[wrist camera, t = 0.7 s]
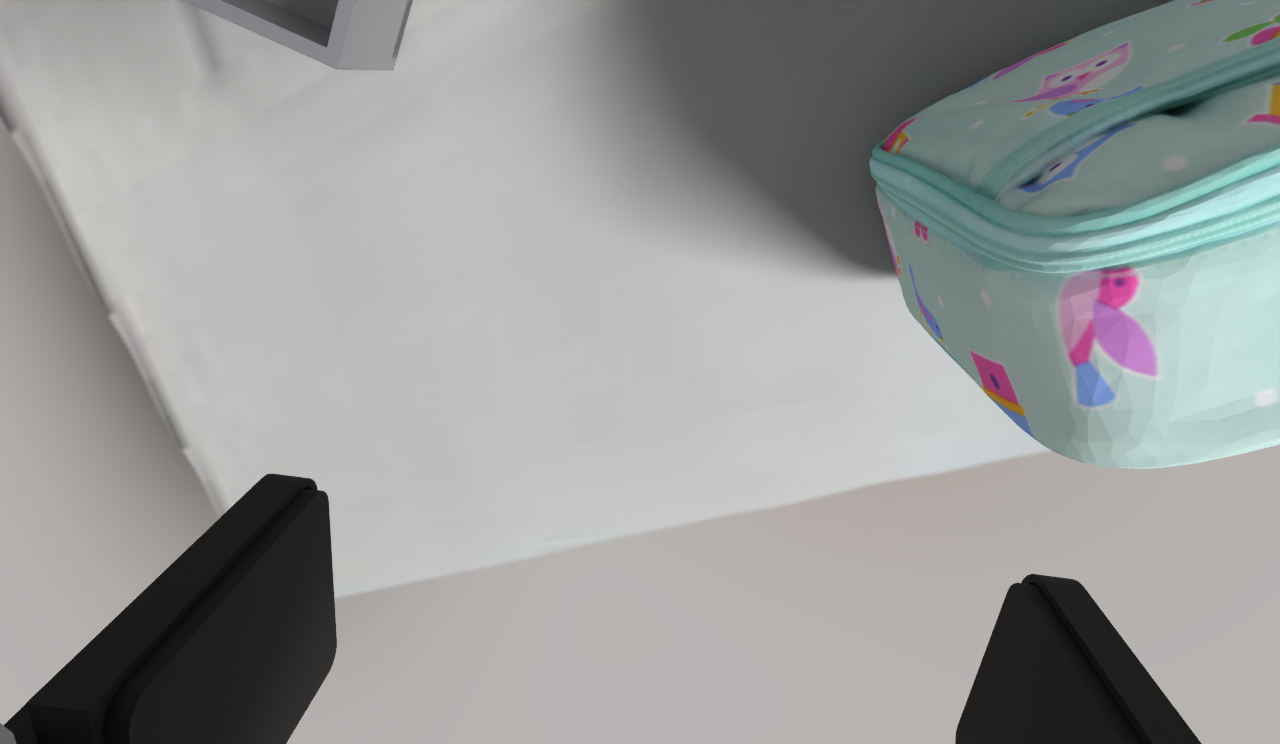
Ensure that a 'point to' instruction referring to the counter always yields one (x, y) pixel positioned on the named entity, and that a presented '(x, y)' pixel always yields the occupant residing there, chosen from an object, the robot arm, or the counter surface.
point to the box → (324, 27)
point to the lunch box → (1107, 234)
